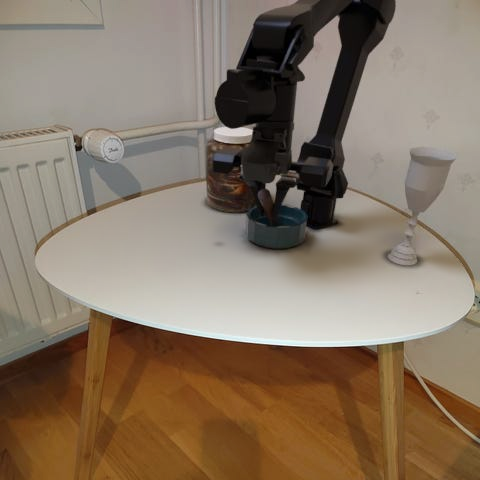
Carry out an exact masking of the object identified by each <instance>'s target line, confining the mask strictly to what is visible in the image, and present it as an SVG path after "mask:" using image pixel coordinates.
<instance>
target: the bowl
mask: <svg viewBox="0 0 480 480" xmlns="http://www.w3.org/2000/svg"><path fill="white" fill-rule="evenodd" d="M278 215H279V218H280V221H281V226H280V227H278V226H271V225H270V223H269V220H268V218H267V216H266V214H265V211H264V215H263V216H262V217H261V216H259V212H258V209H257V206H255V207H253V208H251V209H249V210H248V211H246V214H245V235H246V239H248V240H249V241H251V242H252V243H254V244H256V245H257V246H260V247H263V248H267V249H274V250H281V249H282V250H284V249H289V248H292V247H295V246H298V245H300V244H302V243H303V242H304V241H305V238H306V235H307V234H306V233H307V226H308V225H307V219H308V216H307V215H306V213H305V212H304V211H302V210H301V209H300V207H299V208H298V207H296V206H294V205H290V204H284V203H282V205H281V208H280V210H279V212H278Z"/></svg>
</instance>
